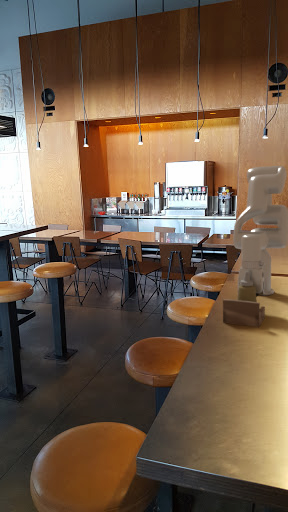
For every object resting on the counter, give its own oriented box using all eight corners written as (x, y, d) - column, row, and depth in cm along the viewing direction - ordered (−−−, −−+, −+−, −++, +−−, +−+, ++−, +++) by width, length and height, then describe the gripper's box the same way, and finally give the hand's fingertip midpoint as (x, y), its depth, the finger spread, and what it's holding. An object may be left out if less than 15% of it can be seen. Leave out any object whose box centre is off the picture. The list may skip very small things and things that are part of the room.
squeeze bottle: (257, 319, 142) (257, 274, 139) (235, 318, 144) (235, 274, 141) (257, 312, 150) (257, 270, 147) (236, 311, 152) (236, 269, 149)
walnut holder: (231, 313, 150) (231, 292, 149) (264, 317, 144) (264, 295, 142) (223, 322, 141) (222, 299, 139) (258, 327, 134) (258, 303, 133)
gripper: (271, 263, 148) (270, 307, 151) (235, 261, 155) (235, 303, 158) (268, 267, 141) (267, 312, 145) (230, 265, 149) (230, 308, 152)
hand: (250, 307), depth 151 cm, fingers closed
